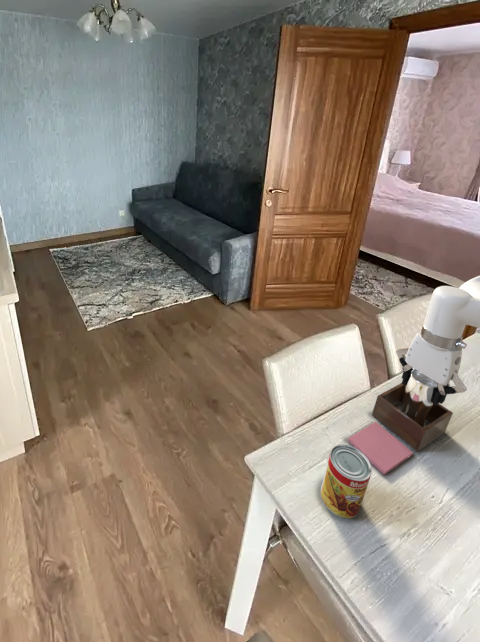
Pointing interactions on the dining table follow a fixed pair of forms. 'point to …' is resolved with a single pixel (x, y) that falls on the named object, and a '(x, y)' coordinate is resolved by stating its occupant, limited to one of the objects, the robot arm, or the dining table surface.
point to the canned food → (345, 480)
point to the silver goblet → (419, 396)
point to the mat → (380, 447)
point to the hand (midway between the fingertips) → (421, 391)
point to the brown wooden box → (407, 426)
